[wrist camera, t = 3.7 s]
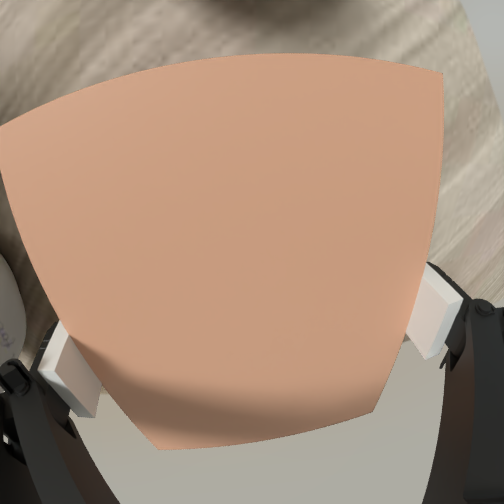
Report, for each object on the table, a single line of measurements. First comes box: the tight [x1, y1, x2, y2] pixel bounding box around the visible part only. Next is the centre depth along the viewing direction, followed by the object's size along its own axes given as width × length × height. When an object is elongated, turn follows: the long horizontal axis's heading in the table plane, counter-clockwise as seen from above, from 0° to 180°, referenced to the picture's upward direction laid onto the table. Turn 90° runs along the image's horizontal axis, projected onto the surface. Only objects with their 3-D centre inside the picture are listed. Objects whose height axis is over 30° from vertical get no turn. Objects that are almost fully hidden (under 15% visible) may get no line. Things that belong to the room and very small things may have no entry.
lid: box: [0, 53, 444, 450], centre depth 10 cm, size 12×16×2 cm
